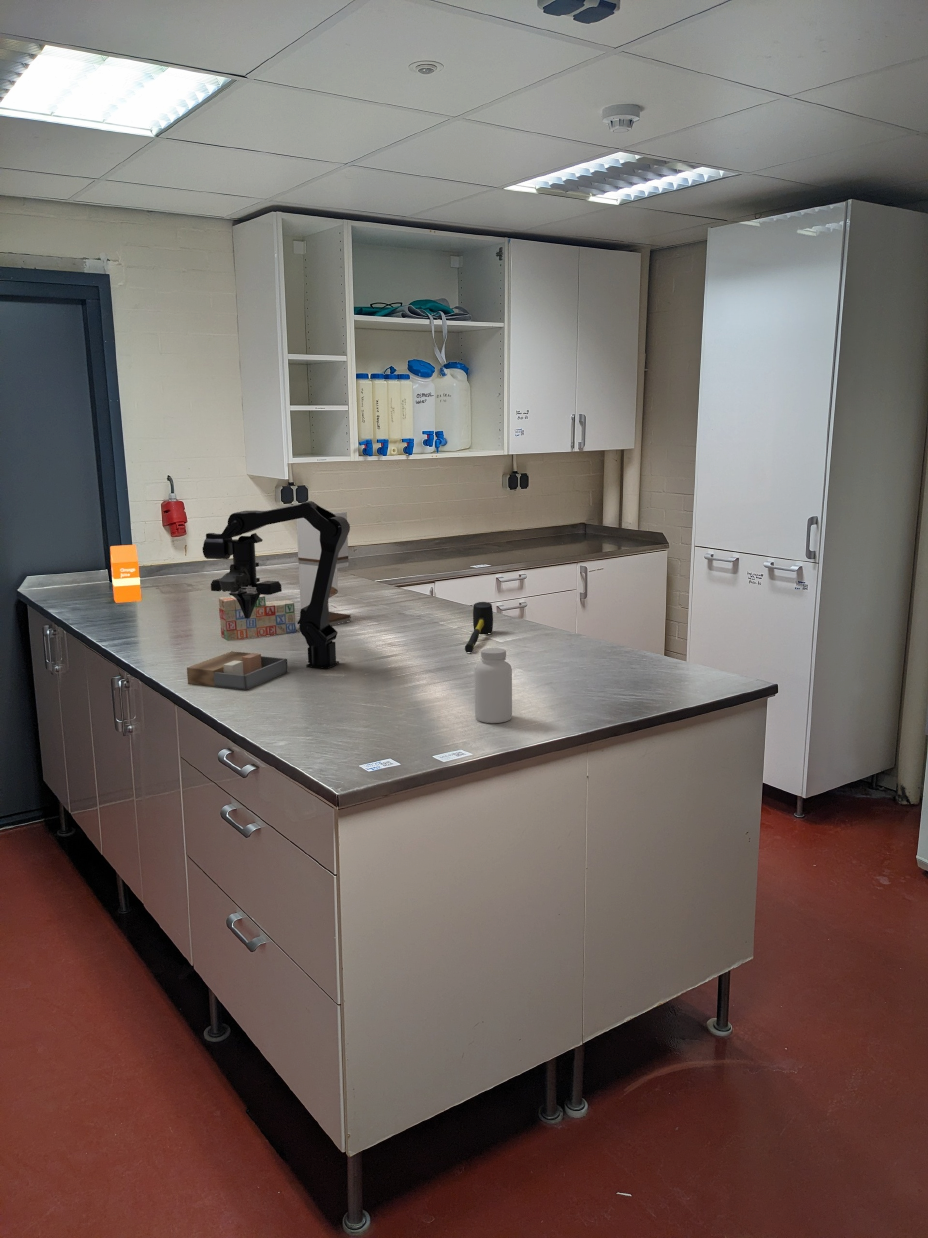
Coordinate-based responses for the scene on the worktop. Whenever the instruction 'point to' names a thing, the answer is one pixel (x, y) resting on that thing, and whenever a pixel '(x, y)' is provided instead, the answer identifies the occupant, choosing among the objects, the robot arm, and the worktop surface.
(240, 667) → the tile cream
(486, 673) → the pill bottle
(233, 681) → the box
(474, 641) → the mallet
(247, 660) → the tile terracotta
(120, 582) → the orange juice
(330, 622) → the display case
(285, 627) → the stack of blocks
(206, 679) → the walnut plate
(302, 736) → the worktop surface
